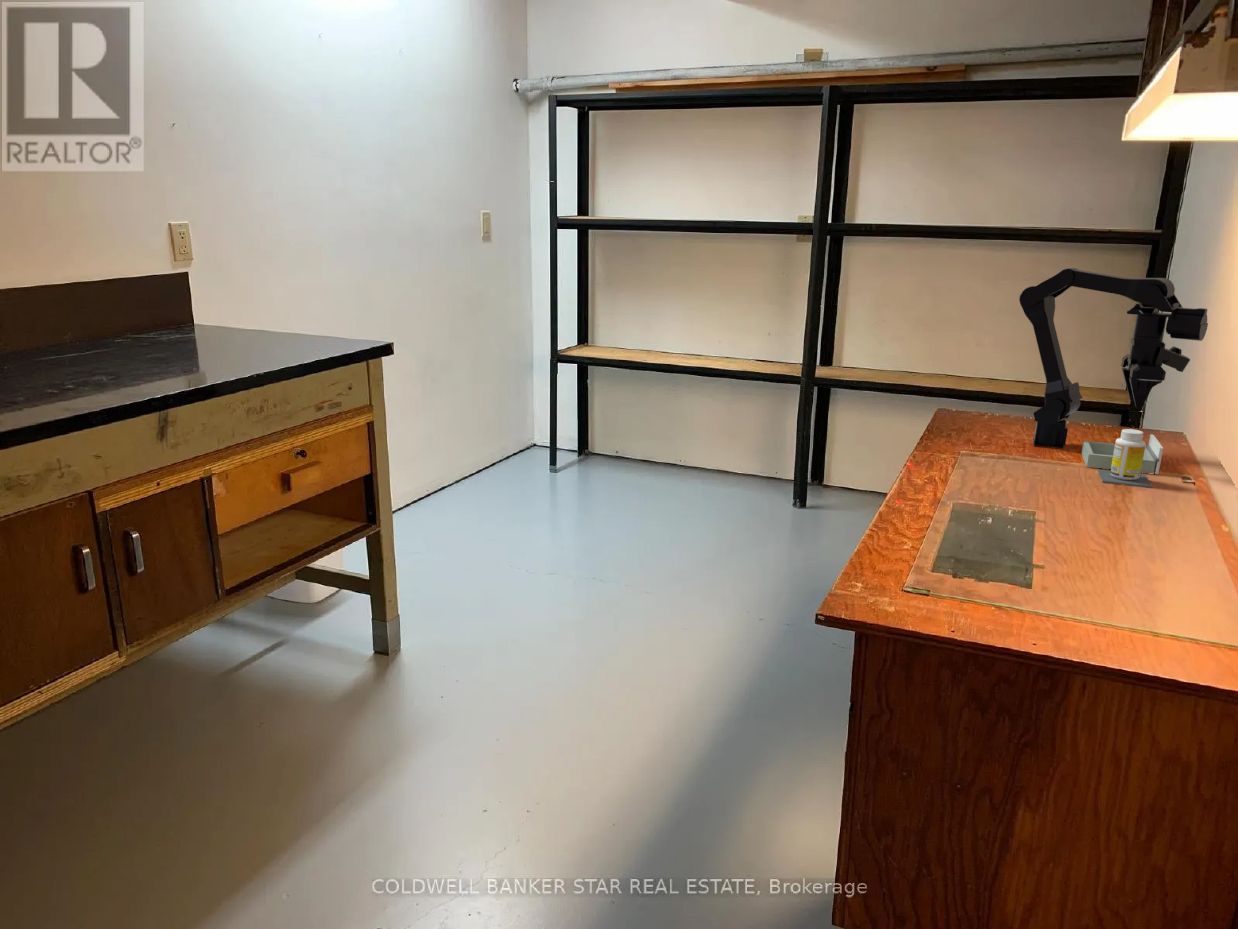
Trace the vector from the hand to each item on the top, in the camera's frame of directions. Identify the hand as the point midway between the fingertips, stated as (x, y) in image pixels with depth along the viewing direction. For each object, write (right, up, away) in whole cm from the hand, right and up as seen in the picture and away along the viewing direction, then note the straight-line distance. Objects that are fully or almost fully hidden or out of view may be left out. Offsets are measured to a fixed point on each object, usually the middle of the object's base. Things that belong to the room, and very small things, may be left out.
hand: (1135, 404), depth 195 cm
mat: (-9, -17, -11) cm, 22 cm away
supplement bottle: (-9, -17, -11) cm, 22 cm away
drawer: (-4, -13, +1) cm, 14 cm away
